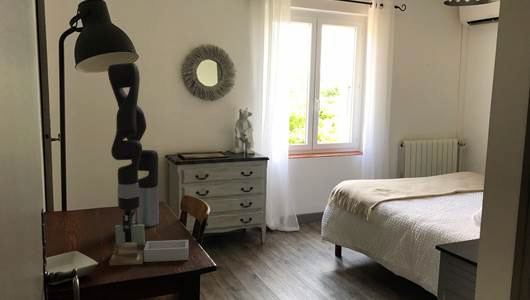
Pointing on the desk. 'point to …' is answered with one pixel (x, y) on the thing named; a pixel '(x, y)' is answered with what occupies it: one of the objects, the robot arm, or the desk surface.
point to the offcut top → (128, 248)
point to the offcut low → (125, 256)
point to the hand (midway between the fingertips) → (130, 238)
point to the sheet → (136, 234)
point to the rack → (129, 262)
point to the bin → (166, 250)
